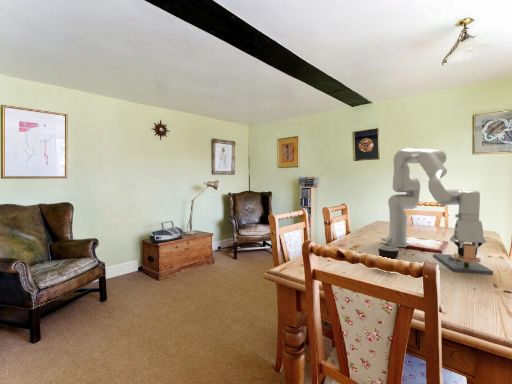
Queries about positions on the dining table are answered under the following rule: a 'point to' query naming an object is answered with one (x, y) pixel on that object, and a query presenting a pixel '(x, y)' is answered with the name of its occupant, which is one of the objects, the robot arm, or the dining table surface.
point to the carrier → (461, 264)
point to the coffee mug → (388, 252)
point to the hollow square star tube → (468, 254)
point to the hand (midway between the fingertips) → (467, 255)
